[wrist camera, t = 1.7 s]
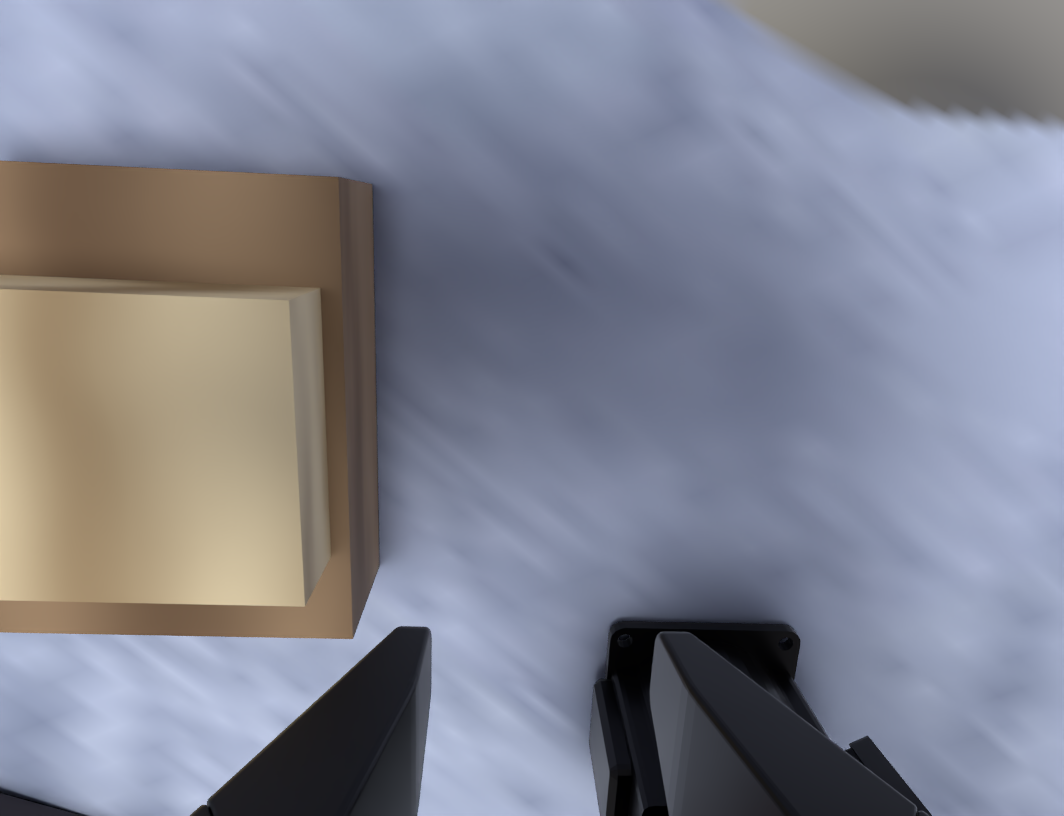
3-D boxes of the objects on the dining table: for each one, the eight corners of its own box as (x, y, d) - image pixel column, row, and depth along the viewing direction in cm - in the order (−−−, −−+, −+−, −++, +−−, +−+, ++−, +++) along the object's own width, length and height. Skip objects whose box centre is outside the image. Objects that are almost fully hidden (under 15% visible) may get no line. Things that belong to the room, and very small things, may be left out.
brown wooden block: (372, 184, 19) (338, 177, 15) (379, 566, 23) (352, 639, 19) (6, 166, 19) (-123, 154, 15) (67, 558, 22) (-26, 631, 18)
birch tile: (320, 288, 16) (288, 300, 14) (331, 556, 18) (304, 606, 16) (-32, 273, 16) (-125, 283, 13) (17, 548, 18) (-56, 599, 15)
